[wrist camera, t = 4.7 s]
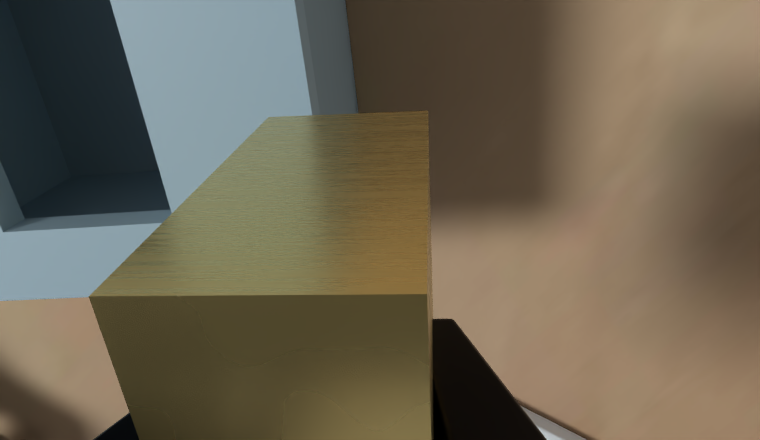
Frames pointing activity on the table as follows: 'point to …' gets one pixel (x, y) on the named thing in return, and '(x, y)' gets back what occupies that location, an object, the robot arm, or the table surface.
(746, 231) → the table surface
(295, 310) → the yellow rectangular block
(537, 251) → the table surface
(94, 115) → the tissue box
